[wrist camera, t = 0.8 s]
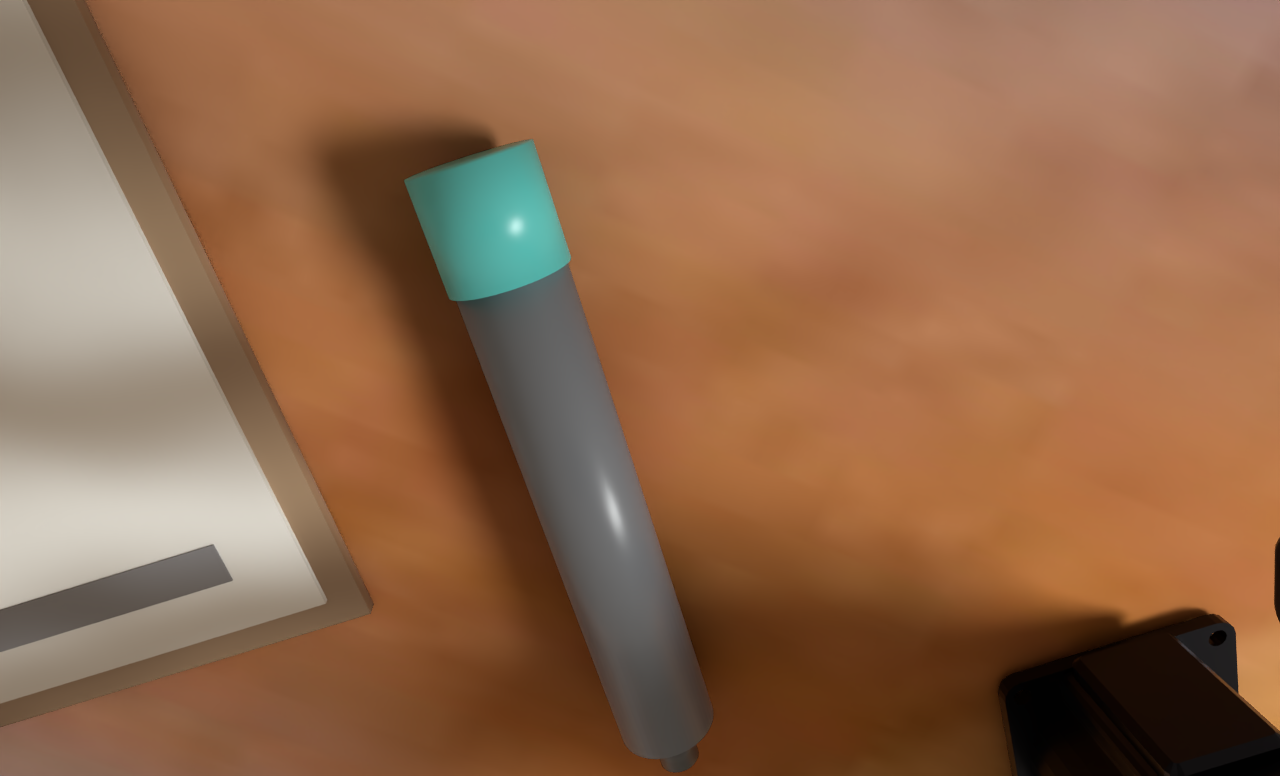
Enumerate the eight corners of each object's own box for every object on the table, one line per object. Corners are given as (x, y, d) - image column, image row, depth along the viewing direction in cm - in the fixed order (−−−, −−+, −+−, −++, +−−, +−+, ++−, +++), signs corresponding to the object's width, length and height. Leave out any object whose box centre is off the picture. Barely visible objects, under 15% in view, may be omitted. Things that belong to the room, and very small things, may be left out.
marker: (720, 710, 24) (738, 784, 21) (628, 737, 24) (635, 814, 21) (534, 135, 18) (531, 145, 16) (414, 171, 18) (392, 188, 16)
